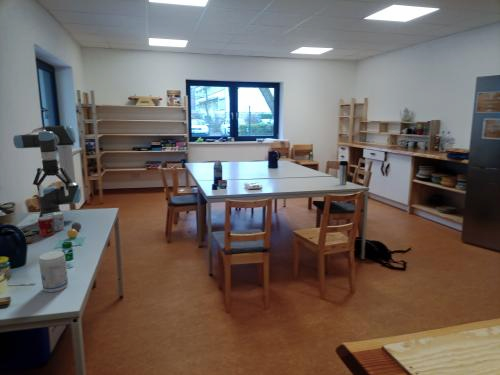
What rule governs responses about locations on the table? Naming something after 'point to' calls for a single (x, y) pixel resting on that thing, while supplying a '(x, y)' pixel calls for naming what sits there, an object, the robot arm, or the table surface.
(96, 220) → the table surface
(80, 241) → the teal mark
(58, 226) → the light bulb box
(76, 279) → the table surface
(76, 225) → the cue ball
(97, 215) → the table surface
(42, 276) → the supplement tub
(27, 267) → the table surface
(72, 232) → the orange ball
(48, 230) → the canned food
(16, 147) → the robot arm
